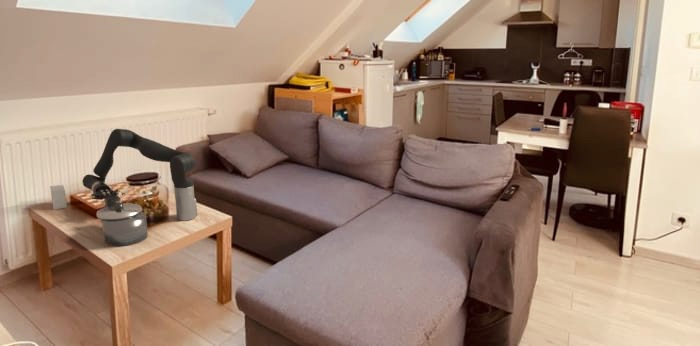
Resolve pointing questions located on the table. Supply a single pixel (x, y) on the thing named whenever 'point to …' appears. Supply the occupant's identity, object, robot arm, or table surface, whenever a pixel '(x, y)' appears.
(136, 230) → the pot
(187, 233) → the table surface
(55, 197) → the skincare box
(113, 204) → the lid
